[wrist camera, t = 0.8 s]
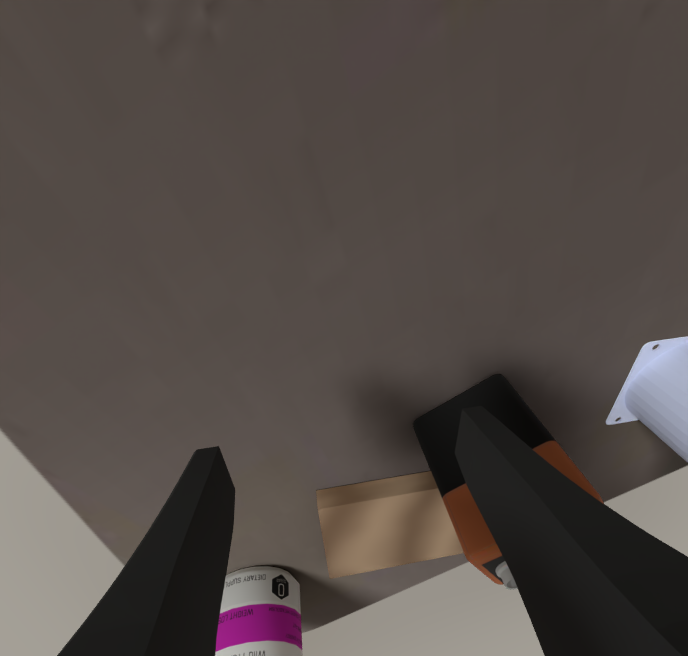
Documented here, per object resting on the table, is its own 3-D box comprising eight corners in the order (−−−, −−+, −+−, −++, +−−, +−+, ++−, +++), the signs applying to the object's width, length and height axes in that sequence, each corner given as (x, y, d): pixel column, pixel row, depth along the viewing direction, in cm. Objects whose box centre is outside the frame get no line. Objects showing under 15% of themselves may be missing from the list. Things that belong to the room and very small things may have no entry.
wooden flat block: (515, 456, 28) (525, 472, 27) (492, 529, 34) (500, 545, 33) (316, 490, 27) (317, 509, 26) (328, 560, 33) (329, 578, 32)
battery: (519, 404, 25) (636, 554, 17) (435, 450, 27) (506, 609, 18) (498, 368, 23) (621, 520, 15) (408, 419, 24) (474, 585, 16)
